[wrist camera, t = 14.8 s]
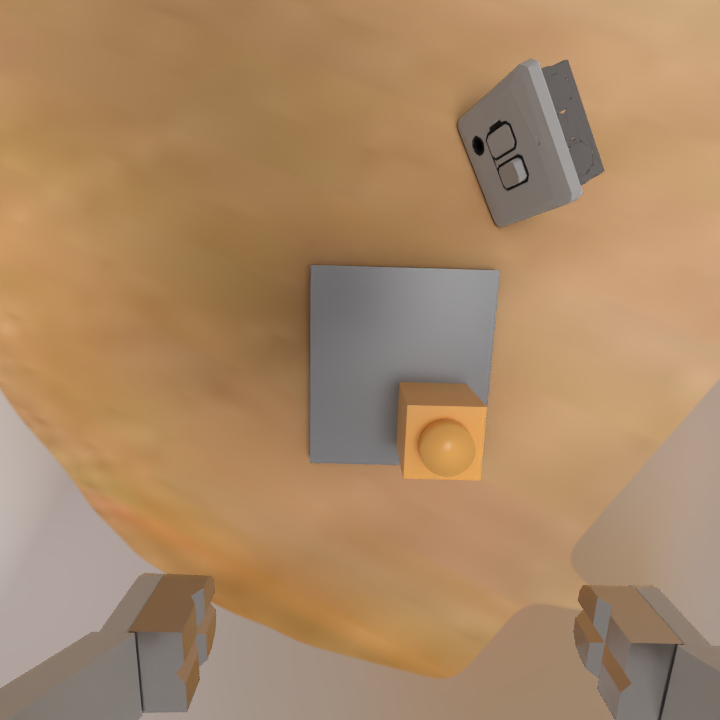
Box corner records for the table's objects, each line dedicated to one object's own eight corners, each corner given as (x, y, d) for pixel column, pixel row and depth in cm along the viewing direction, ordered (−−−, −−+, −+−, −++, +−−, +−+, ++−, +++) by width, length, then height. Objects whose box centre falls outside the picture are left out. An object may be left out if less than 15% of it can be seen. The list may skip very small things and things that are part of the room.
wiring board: (312, 264, 39) (305, 265, 33) (494, 270, 39) (516, 271, 33) (311, 455, 42) (304, 483, 37) (477, 459, 43) (494, 488, 37)
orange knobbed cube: (399, 381, 39) (409, 411, 32) (466, 383, 39) (493, 413, 32) (396, 444, 41) (405, 488, 33) (461, 446, 41) (485, 490, 33)
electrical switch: (453, 122, 36) (499, 70, 27) (510, 95, 36) (574, 33, 27) (495, 230, 38) (551, 214, 29) (549, 204, 38) (621, 180, 29)
